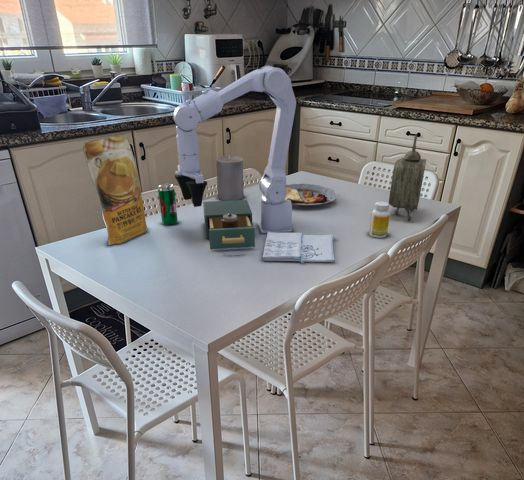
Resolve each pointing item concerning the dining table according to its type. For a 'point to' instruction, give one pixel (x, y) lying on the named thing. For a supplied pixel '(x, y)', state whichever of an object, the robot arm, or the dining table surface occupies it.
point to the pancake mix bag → (117, 186)
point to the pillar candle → (229, 178)
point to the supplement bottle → (379, 220)
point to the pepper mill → (229, 221)
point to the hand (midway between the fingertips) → (192, 202)
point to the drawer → (231, 234)
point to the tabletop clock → (407, 181)
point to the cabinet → (225, 210)
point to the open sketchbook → (298, 247)
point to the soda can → (167, 204)
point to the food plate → (309, 194)
